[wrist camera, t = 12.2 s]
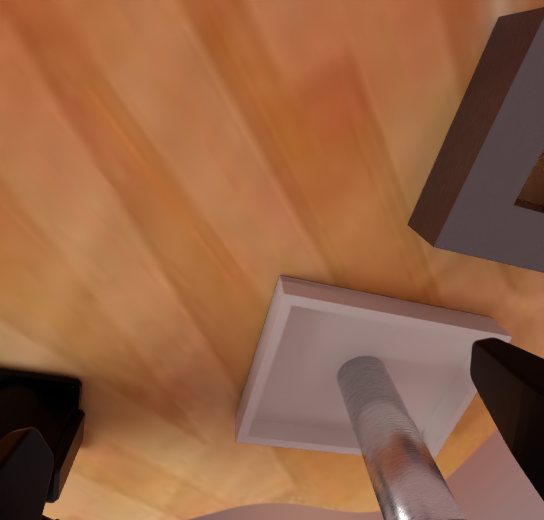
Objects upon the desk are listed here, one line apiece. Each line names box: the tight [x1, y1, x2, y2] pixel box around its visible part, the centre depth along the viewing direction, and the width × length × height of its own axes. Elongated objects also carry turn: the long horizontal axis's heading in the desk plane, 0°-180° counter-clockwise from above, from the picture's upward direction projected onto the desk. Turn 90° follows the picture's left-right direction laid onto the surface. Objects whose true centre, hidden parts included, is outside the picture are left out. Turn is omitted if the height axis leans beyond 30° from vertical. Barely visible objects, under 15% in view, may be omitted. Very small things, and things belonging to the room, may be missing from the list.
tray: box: [235, 275, 512, 459], centre depth 24 cm, size 14×11×2 cm
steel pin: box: [337, 356, 465, 520], centre depth 19 cm, size 4×4×12 cm
